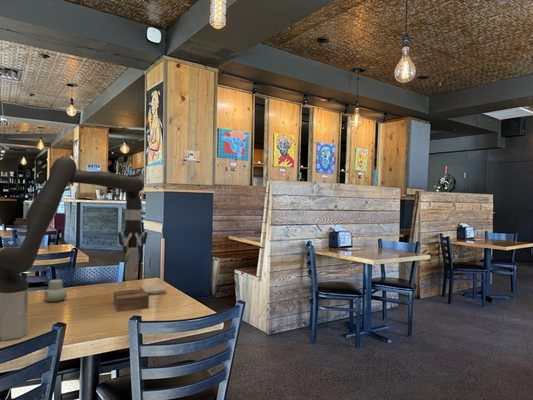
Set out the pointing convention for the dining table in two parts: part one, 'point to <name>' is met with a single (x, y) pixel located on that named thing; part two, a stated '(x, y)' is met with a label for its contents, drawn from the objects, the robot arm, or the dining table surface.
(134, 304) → the block
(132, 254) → the lotion bottle
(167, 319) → the dining table surface
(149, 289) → the washcloth
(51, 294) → the air freshener
